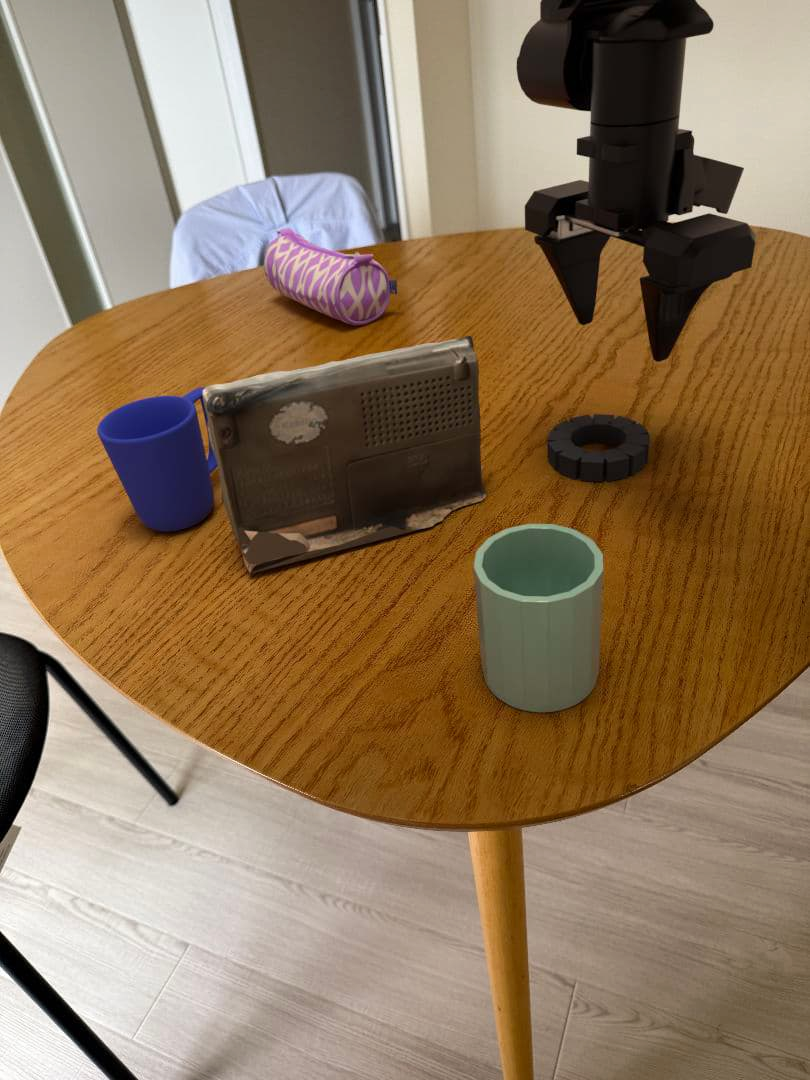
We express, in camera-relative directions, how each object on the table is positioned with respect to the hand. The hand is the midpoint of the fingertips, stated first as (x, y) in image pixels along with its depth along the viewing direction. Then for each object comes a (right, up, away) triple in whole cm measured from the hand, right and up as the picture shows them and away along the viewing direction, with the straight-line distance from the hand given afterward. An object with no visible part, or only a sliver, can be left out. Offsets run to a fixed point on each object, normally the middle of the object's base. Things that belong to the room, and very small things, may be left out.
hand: (621, 340), depth 61 cm
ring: (+1, -8, +10) cm, 13 cm away
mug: (-37, -12, +12) cm, 40 cm away
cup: (-8, -24, -10) cm, 27 cm away
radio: (-20, -14, +7) cm, 25 cm away
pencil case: (-28, +17, +51) cm, 60 cm away
